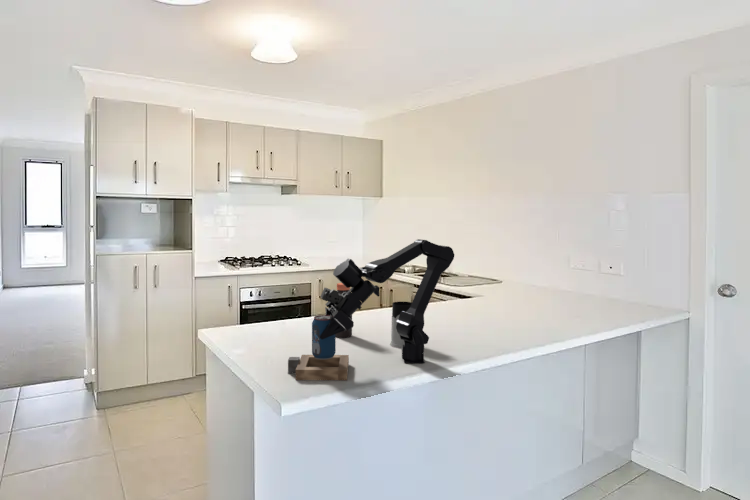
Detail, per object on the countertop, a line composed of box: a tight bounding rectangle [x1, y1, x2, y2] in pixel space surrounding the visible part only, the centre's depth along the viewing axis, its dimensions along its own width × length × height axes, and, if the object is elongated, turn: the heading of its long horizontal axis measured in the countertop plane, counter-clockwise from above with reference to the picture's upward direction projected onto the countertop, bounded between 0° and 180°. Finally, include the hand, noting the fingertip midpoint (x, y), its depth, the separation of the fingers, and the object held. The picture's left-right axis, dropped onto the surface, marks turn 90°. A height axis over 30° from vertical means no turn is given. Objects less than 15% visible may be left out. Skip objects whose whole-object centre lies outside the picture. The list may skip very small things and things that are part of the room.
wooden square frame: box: [287, 354, 350, 381], centre depth 151 cm, size 18×14×4 cm
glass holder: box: [389, 301, 412, 349], centre depth 184 cm, size 9×14×15 cm, turn 15°
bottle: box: [336, 282, 353, 339], centre depth 192 cm, size 7×7×20 cm
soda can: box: [311, 314, 337, 360], centre depth 150 cm, size 7×7×12 cm
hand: (319, 335), depth 150 cm, fingers closed on soda can, 7 cm apart
